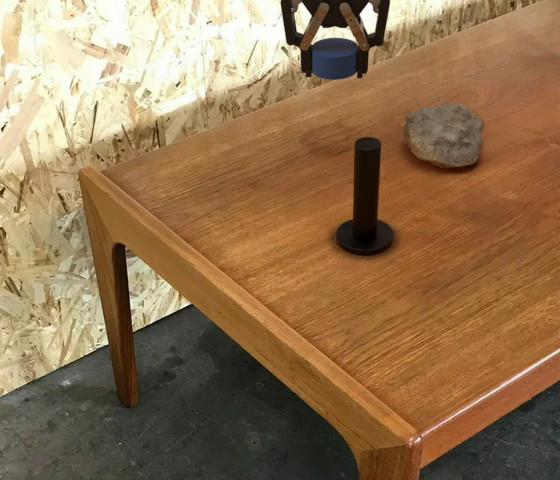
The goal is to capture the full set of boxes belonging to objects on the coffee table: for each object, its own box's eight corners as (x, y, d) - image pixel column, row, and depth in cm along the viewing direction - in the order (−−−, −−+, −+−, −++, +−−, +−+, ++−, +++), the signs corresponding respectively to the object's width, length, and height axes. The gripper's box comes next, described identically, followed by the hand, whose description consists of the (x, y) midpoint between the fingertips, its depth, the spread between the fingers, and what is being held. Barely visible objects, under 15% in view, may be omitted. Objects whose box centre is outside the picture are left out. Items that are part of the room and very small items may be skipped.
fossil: (483, 174, 107) (434, 130, 102) (436, 199, 113) (388, 158, 108) (492, 111, 112) (446, 66, 108) (447, 137, 119) (401, 96, 114)
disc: (358, 59, 108) (359, 37, 105) (356, 80, 103) (357, 57, 101) (313, 59, 108) (313, 37, 106) (309, 79, 104) (309, 56, 102)
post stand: (393, 223, 101) (399, 128, 91) (392, 256, 96) (398, 159, 86) (338, 221, 101) (338, 127, 92) (334, 254, 96) (334, 158, 87)
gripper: (272, -51, 93) (278, 87, 104) (396, -52, 91) (388, 89, 103) (279, -71, 98) (284, 62, 110) (397, -72, 96) (389, 64, 108)
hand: (334, 75), depth 106 cm, fingers closed on disc, 6 cm apart
